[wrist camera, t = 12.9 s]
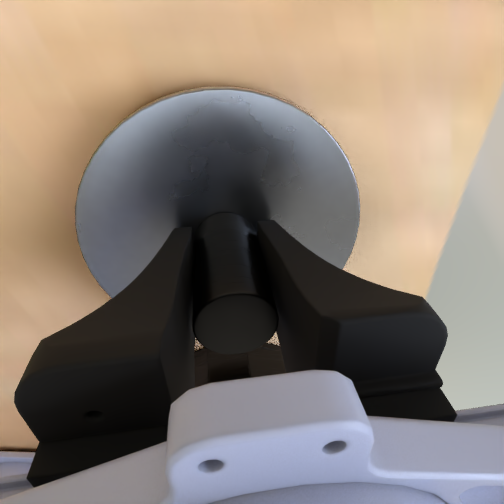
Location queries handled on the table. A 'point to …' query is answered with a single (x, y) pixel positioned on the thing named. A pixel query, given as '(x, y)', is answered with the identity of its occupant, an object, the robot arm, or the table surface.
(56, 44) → the table surface
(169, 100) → the lid
